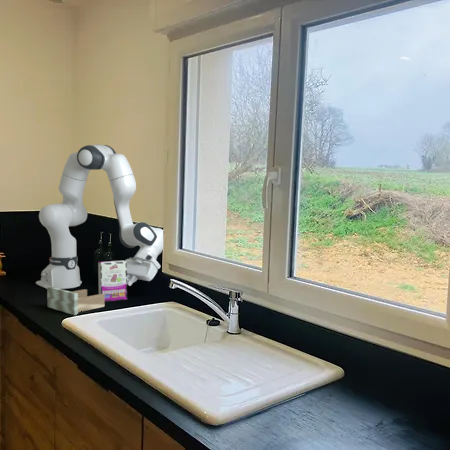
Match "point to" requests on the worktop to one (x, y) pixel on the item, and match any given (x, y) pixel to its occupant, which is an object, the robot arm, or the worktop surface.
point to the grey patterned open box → (73, 300)
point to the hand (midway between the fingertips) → (127, 284)
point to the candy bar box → (113, 280)
